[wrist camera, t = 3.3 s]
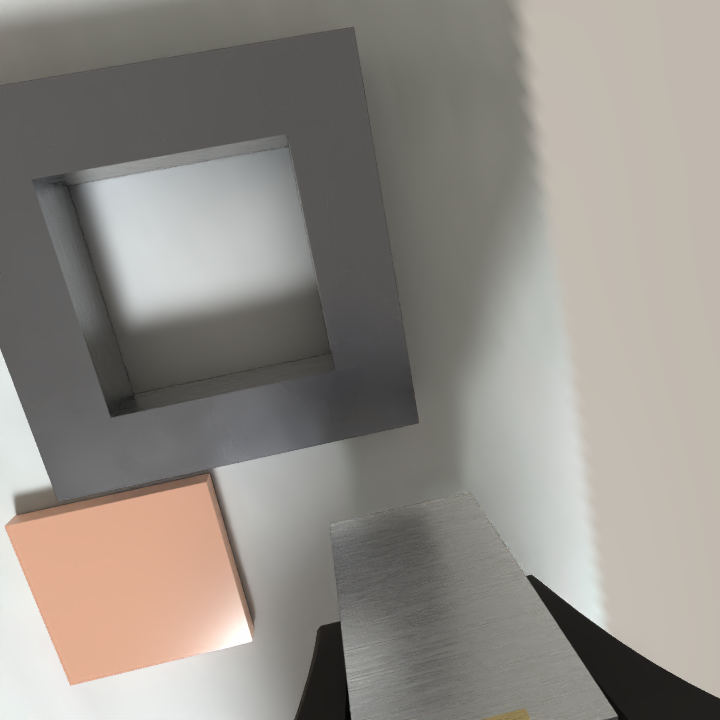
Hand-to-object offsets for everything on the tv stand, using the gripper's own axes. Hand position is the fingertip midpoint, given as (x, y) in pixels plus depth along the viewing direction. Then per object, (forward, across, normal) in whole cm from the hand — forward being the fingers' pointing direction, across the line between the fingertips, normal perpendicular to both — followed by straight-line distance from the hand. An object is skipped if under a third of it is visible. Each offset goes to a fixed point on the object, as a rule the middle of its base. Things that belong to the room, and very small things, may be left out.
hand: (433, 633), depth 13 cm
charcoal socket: (+5, +4, -9) cm, 11 cm away
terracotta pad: (+5, +8, 0) cm, 10 cm away
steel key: (+2, 0, 0) cm, 2 cm away
